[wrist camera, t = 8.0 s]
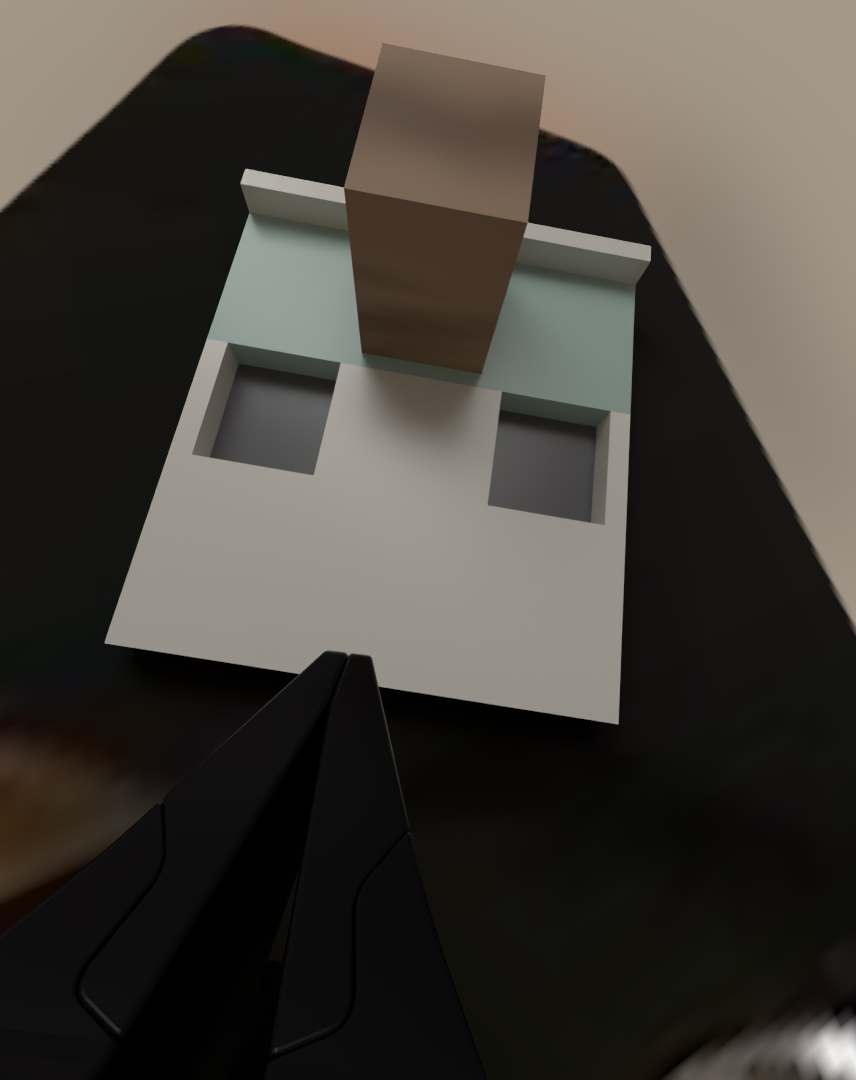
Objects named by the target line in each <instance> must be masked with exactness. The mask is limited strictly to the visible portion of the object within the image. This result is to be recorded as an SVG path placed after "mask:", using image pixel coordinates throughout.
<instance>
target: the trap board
mask: <svg viewBox="0 0 856 1080" xmlns="http://www.w3.org/2000/svg"><path fill="white" fill-rule="evenodd" d="M240 184H241V187H242V190H243V193H244V196H245V200H246V203H247V206H248V209H249V212H250V213H249V216H248V219H247V222H246V225H245V228H244V231H243V234H242V237H241V240H240V243H239V246H238V249H237V252H236V255H235V258H234V261H233V264H232V267H231V270H230V273H229V276H228V278H227V281H226V284H225V287H224V290H223V293H222V296H221V299H220V302H219V305H218V308H217V311H216V314H215V317H214V320H213V323H212V326H211V329H210V332H209V335H208V338H207V341H206V344H205V347H204V350H203V353H202V355H201V358H200V361H199V364H198V367H197V370H196V373H195V376H194V379H193V382H192V385H191V388H190V391H189V394H188V397H187V400H186V403H185V406H184V409H183V412H182V415H181V418H180V421H179V424H178V427H177V430H176V433H175V435H174V438H173V441H172V444H171V447H170V450H169V453H168V456H167V459H166V462H165V465H164V468H163V471H162V474H161V477H160V480H159V483H158V486H157V489H156V492H155V495H154V498H153V501H152V504H151V507H150V510H149V512H148V515H147V518H146V521H145V524H144V527H143V530H142V533H141V536H140V539H139V542H138V545H137V548H136V551H135V554H134V557H133V560H132V563H131V566H130V569H129V572H128V575H127V578H126V581H125V584H124V587H123V590H122V592H121V595H120V598H119V601H118V604H117V607H116V610H115V613H114V616H113V619H112V622H111V625H110V628H109V631H108V634H107V637H106V640H105V643H106V644H113V645H119V646H125V647H132V648H138V649H144V650H151V651H157V652H163V653H170V654H176V655H182V656H189V657H195V658H201V659H208V660H214V661H220V662H227V663H233V664H239V665H246V666H252V667H258V668H265V669H271V670H277V671H284V672H290V673H296V674H300V673H301V672H302V671H303V670H304V669H306V668H307V667H308V666H309V665H310V664H311V663H312V662H313V661H314V660H315V659H316V658H318V657H319V656H320V655H321V654H322V653H323V652H325V651H327V650H330V651H339V652H345V653H347V654H348V656H349V655H350V654H351V653H355V654H364V655H370V656H371V657H372V659H373V664H374V668H375V673H376V678H377V682H378V686H379V687H385V688H391V689H398V690H404V691H410V692H417V693H423V694H429V695H436V696H442V697H448V698H455V699H461V700H467V701H474V702H480V703H486V704H493V705H499V706H505V707H512V708H518V709H524V710H531V711H537V712H543V713H550V714H556V715H562V716H569V717H575V718H581V719H588V720H594V721H600V722H607V723H613V724H618V721H619V695H620V669H621V643H622V617H623V591H624V565H625V539H626V513H627V487H628V461H629V435H630V409H631V383H632V358H633V332H634V306H635V285H636V283H637V282H638V280H639V279H640V277H641V275H642V274H643V272H644V271H645V269H646V268H647V266H648V265H649V263H650V261H651V246H647V245H642V244H637V243H631V242H626V241H621V240H616V239H610V238H605V237H600V236H595V235H589V234H584V233H579V232H574V231H569V230H563V229H558V228H553V227H548V226H542V225H537V224H532V223H527V227H526V230H525V233H524V236H523V240H522V243H521V246H520V250H519V253H518V256H517V259H516V263H515V266H514V269H513V272H512V276H511V279H510V282H509V286H508V289H507V292H506V295H505V299H504V302H503V305H502V308H501V312H500V315H499V318H498V322H497V325H496V328H495V331H494V335H493V338H492V341H491V344H490V348H489V351H488V354H487V358H486V361H485V364H484V367H483V371H482V374H479V373H473V372H468V371H462V370H456V369H451V368H445V367H440V366H434V365H428V364H423V363H417V362H412V361H406V360H400V359H395V358H389V357H384V356H378V355H372V354H367V353H362V351H361V342H360V333H359V323H358V314H357V305H356V295H355V286H354V277H353V268H352V258H351V249H350V240H349V230H348V221H347V212H346V203H345V193H344V188H343V187H338V186H333V185H327V184H322V183H317V182H312V181H306V180H301V179H296V178H291V177H286V176H280V175H275V174H270V173H265V172H259V171H254V170H249V169H245V172H244V175H243V178H242V180H241V183H240Z"/></svg>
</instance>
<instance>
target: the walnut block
mask: <svg viewBox="0 0 856 1080" xmlns="http://www.w3.org/2000/svg"><path fill="white" fill-rule="evenodd" d="M544 82H545V76H544V75H539V74H534V73H529V72H524V71H519V70H514V69H509V68H503V67H499V66H494V65H489V64H484V63H479V62H473V61H469V60H464V59H459V58H454V57H449V56H443V55H439V54H434V53H429V52H424V51H419V50H414V49H409V48H404V47H398V46H394V45H389V44H384V43H383V44H382V48H381V52H380V55H379V59H378V63H377V67H376V70H375V74H374V78H373V81H372V85H371V89H370V93H369V96H368V100H367V104H366V108H365V111H364V115H363V119H362V123H361V126H360V130H359V134H358V137H357V141H356V145H355V149H354V152H353V156H352V160H351V164H350V167H349V171H348V175H347V179H346V182H345V186H344V193H345V203H346V212H347V221H348V230H349V240H350V249H351V258H352V268H353V277H354V286H355V295H356V305H357V314H358V323H359V333H360V342H361V351H362V353H367V354H372V355H378V356H384V357H389V358H395V359H400V360H406V361H412V362H417V363H423V364H428V365H434V366H440V367H445V368H451V369H456V370H462V371H468V372H473V373H479V374H482V371H483V367H484V364H485V361H486V358H487V354H488V351H489V348H490V344H491V341H492V338H493V335H494V331H495V328H496V325H497V322H498V318H499V315H500V312H501V308H502V305H503V302H504V299H505V295H506V292H507V289H508V286H509V282H510V279H511V276H512V272H513V269H514V266H515V263H516V259H517V256H518V253H519V250H520V246H521V243H522V240H523V236H524V233H525V230H526V227H527V223H528V216H529V207H530V199H531V191H532V182H533V174H534V166H535V157H536V149H537V141H538V133H539V124H540V115H541V108H542V99H543V91H544Z"/></svg>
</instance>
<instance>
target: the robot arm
mask: <svg viewBox="0 0 856 1080" xmlns="http://www.w3.org/2000/svg"><path fill="white" fill-rule="evenodd" d="M409 830H410V828H409V823H408V819H407V814H406V809H405V805H404V800H403V796H402V791H401V787H400V782H399V778H398V773H397V769H396V764H395V759H394V755H393V750H392V746H391V741H390V737H389V732H388V728H387V723H386V718H385V714H384V709H383V705H382V700H381V696H380V691H379V687H378V682H377V678H376V673H375V668H374V664H373V659H372V657H371V656H370V655H364V654H355V653H351V654H350V655H349V656H348V654H347V653H345V652H339V651H330V650H327V651H325V652H323V653H322V654H321V655H320V656H319V657H318V658H316V659H315V660H314V661H313V662H312V663H311V664H310V665H309V666H308V667H307V668H306V669H304V670H303V671H302V672H301V673H300V674H299V675H298V676H297V677H296V678H295V679H293V680H292V681H291V682H290V683H289V684H288V685H287V686H286V687H285V688H284V689H283V690H281V691H280V692H279V693H278V694H277V695H276V696H275V697H274V698H273V699H272V700H270V701H269V702H268V703H267V704H266V705H265V706H264V707H263V708H262V709H261V710H259V711H258V712H257V713H256V714H255V715H254V716H253V717H252V718H251V719H250V720H249V721H247V722H246V723H245V724H244V725H243V726H242V727H241V728H240V729H239V730H238V731H236V732H235V733H234V734H233V735H232V736H231V737H230V738H229V739H228V740H227V741H226V742H224V743H223V744H222V745H221V746H220V747H219V748H218V749H217V750H216V751H215V752H213V753H212V754H211V755H210V756H209V757H208V758H207V759H206V760H205V761H204V762H202V763H201V764H200V765H199V766H198V767H197V768H196V769H195V770H194V771H193V772H192V773H190V774H189V775H188V776H187V777H186V778H185V779H184V780H183V781H182V782H181V783H179V784H178V785H177V786H176V787H175V788H174V789H173V790H172V791H171V792H170V793H168V794H167V795H166V796H165V797H164V799H163V803H161V802H159V803H157V804H156V805H155V806H154V807H153V808H152V809H151V810H150V811H148V812H147V813H146V814H145V815H144V816H143V817H142V818H141V819H140V820H139V821H137V822H136V823H135V824H134V825H133V826H132V827H131V828H130V829H128V830H127V831H126V832H125V833H124V834H123V835H122V836H120V837H119V838H118V839H117V840H116V841H115V842H114V843H112V844H111V845H110V846H109V847H108V848H107V849H106V850H104V851H103V852H102V853H101V854H100V855H99V856H98V857H96V858H95V859H94V860H93V861H92V862H91V863H89V864H88V865H87V866H86V867H84V868H83V869H82V870H81V871H80V872H78V873H77V874H76V875H75V876H73V877H72V878H71V879H70V880H68V881H67V882H66V883H65V884H64V885H62V886H61V887H60V888H59V889H57V890H56V891H55V892H54V893H52V894H51V895H50V896H49V897H48V898H46V899H45V900H44V901H43V902H41V903H40V904H39V905H38V906H36V907H35V908H34V909H32V910H31V911H30V912H29V913H27V914H26V915H25V916H24V917H22V918H21V919H20V920H18V921H17V922H16V923H15V924H13V925H12V926H11V927H10V928H8V929H7V930H6V931H4V932H3V933H2V934H1V935H0V1080H487V1078H486V1075H485V1072H484V1070H483V1067H482V1064H481V1061H480V1058H479V1055H478V1052H477V1049H476V1046H475V1044H474V1041H473V1038H472V1035H471V1032H470V1029H469V1026H468V1023H467V1020H466V1017H465V1015H464V1012H463V1009H462V1006H461V1003H460V1000H459V997H458V994H457V991H456V988H455V986H454V983H453V980H452V977H451V974H450V971H449V968H448V965H447V962H446V960H445V957H444V954H443V951H442V947H441V944H440V941H439V938H438V935H437V931H436V928H435V925H434V922H433V918H432V915H431V912H430V909H429V906H428V902H427V898H426V894H425V890H424V886H423V882H422V878H421V874H420V871H419V867H418V863H417V858H416V854H415V849H414V845H413V840H412V836H411V834H410V833H409ZM299 866H300V869H299ZM298 869H299V874H298V880H297V886H296V891H295V897H294V902H293V908H292V914H291V919H290V925H289V930H288V936H287V942H286V947H285V953H284V958H283V964H281V963H279V962H277V961H274V960H272V961H268V962H267V960H268V957H269V955H270V952H271V949H272V946H273V943H274V940H275V937H276V934H277V931H278V928H279V925H280V922H281V919H282V916H283V913H284V910H285V907H286V904H287V902H288V899H289V896H290V893H291V890H292V887H293V884H294V881H295V878H296V875H297V872H298ZM267 975H270V976H272V977H273V978H274V979H275V983H273V984H271V985H270V984H267V983H266V982H265V981H264V977H265V976H267Z"/></svg>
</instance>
